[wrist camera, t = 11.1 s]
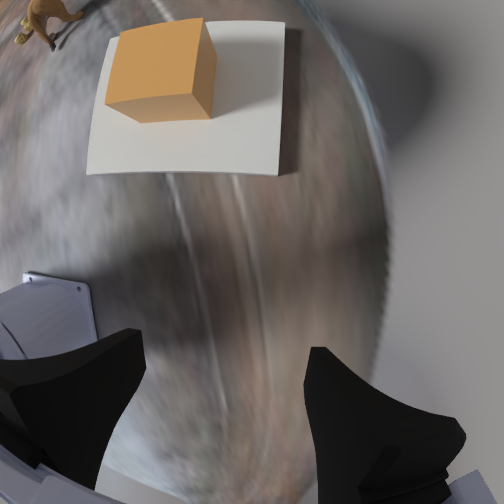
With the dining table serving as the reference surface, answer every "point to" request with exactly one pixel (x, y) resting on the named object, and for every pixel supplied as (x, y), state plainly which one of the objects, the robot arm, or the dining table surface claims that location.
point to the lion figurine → (44, 5)
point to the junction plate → (204, 131)
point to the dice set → (23, 37)
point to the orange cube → (164, 72)
